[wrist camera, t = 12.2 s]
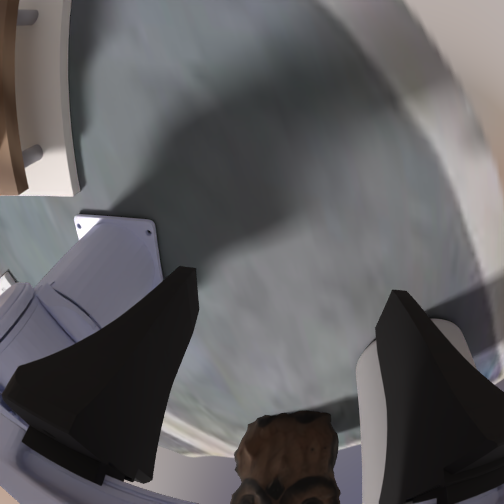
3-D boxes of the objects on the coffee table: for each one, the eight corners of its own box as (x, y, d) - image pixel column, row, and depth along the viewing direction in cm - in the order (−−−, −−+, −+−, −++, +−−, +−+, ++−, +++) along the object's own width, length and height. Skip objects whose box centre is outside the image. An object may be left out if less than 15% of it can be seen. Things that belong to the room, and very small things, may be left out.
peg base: (80, 191, 21) (51, 213, 18) (3, 191, 22) (-22, 209, 19) (77, -36, 10) (44, -44, 7) (-8, 13, 11) (-38, 17, 8)
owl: (237, 424, 40) (215, 539, 24) (276, 395, 33) (257, 548, 17) (305, 441, 42) (296, 546, 25) (354, 415, 35) (354, 545, 19)
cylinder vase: (335, 349, 27) (328, 606, 7) (451, 293, 22) (516, 566, 1) (377, 396, 32) (381, 578, 11) (466, 356, 26) (502, 544, 6)
